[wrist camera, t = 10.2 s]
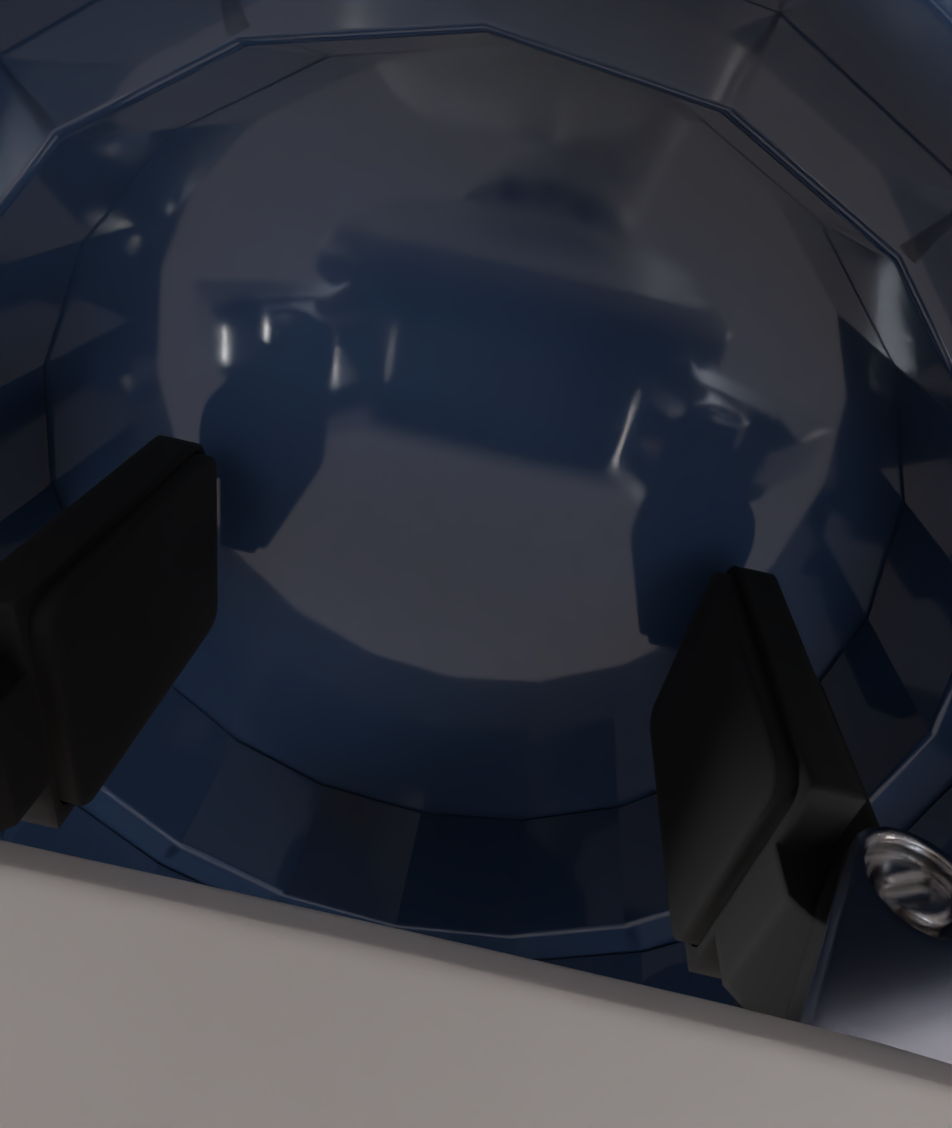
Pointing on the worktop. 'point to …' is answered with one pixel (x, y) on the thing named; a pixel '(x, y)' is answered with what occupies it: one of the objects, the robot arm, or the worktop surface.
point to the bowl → (488, 418)
